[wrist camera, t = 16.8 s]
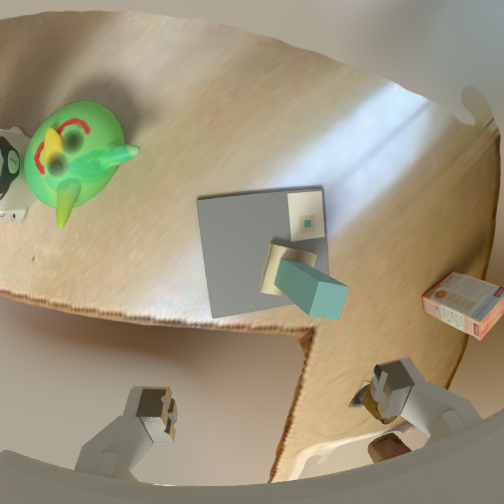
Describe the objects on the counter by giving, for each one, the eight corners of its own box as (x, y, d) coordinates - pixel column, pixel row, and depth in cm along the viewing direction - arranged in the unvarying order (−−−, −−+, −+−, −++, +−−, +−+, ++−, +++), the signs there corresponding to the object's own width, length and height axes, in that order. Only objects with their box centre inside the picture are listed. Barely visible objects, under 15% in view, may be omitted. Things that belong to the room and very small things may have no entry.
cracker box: (424, 313, 72) (480, 342, 52) (421, 295, 70) (480, 321, 50) (455, 287, 74) (509, 308, 54) (452, 269, 72) (510, 288, 52)
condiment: (381, 384, 73) (406, 406, 61) (365, 408, 73) (388, 432, 62) (363, 380, 71) (389, 404, 59) (347, 406, 71) (370, 432, 60)
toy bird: (94, 96, 45) (72, 67, 31) (152, 156, 50) (143, 142, 36) (29, 167, 44) (-10, 161, 30) (83, 229, 49) (54, 241, 35)
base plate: (212, 316, 58) (214, 322, 55) (196, 200, 53) (197, 200, 50) (326, 294, 63) (333, 299, 60) (320, 188, 58) (327, 187, 56)
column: (273, 284, 56) (308, 315, 41) (280, 257, 56) (319, 281, 40) (297, 288, 58) (338, 319, 42) (304, 263, 57) (348, 286, 42)
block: (365, 455, 79) (395, 492, 60) (365, 442, 77) (398, 481, 58) (392, 440, 81) (424, 474, 62) (393, 427, 79) (428, 462, 60)
